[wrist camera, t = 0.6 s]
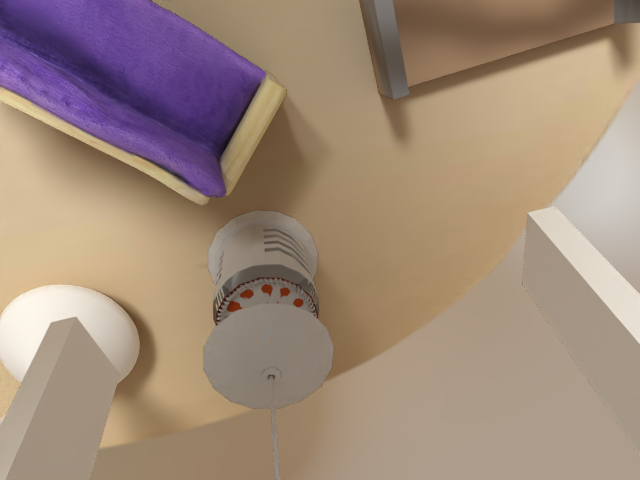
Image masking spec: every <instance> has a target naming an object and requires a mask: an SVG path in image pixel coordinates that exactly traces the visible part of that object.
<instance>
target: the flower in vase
mask: <svg viewBox="0 0 640 480" xmlns="http://www.w3.org/2000/svg"><path fill="white" fill-rule="evenodd" d="M72 317H77V318H78V319H79V321H80V322H81V323H82V325H83V326H84V327H85V329H86V330H87V331H88V333H89V334H90V335H91V337H92V338H93V339H94V341H95V342H96V343H97V345H98V346H99V347H100V348H101V350H102V351H103V352H104V354H105V355H106V356H107V358H108V359H109V360H110V362H111V363H112V364H113V366H114V367H115V368H116V370H117V371H118V372H119V374H120V376H119V380H118V383H119V382H121V381H122V380H123V379H124V378H125V377H126V376H127V375H128V374H129V373H130V371H131V370H132V369H133V367H134V365H135V364H136V361H137V359H138V355H139V350H140V341H139V335H138V332H137V329H136V326H135V324H134V322H133V321H132V319H131V318H130V316H129V315H128V314H127V313H126V311H125V310H124V309H123V308H122V307H121V306H119V305H118V304H117V303H116V302H115V301H113V300H112V299H110V298H109V297H107V296H105V295H104V294H102V293H100V292H97V291H94V290H92V289H88V288H85V287H80V286H75V285H63V284H61V285H48V286H42V287H38V288H35V289H32V290H30V291H27V292H25V293H23V294H21V295H20V296H18V297H17V298H15V299H14V300H13V301H12V302H11V303H10V304H9V305H8V306H7V307H6V308H5V310H4V311H3V313H2V314H1V317H0V359H1V361H2V363H3V365H4V366H5V368H6V369H7V370H8V371H9V372H10V373H11V375H12V376H13V377H14V378H16V379H17V380H18V381H19V382H20V383H21V382H22V380H23V378H24V376H25V374H26V372H27V370H28V368H29V366H30V364H31V362H32V360H33V358H34V356H35V354H36V352H37V350H38V348H39V346H40V344H41V342H42V339H43V337H44V335H45V333H46V331H47V329H48V327H49V325H50V323H51V322H54V321H59V320H63V319H67V318H72ZM118 383H117V384H118ZM5 415H6V414H5ZM5 415H4V416H3V417H2V418H1V419H0V425H1V423H2V421H3V419H4V417H5Z"/></svg>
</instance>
